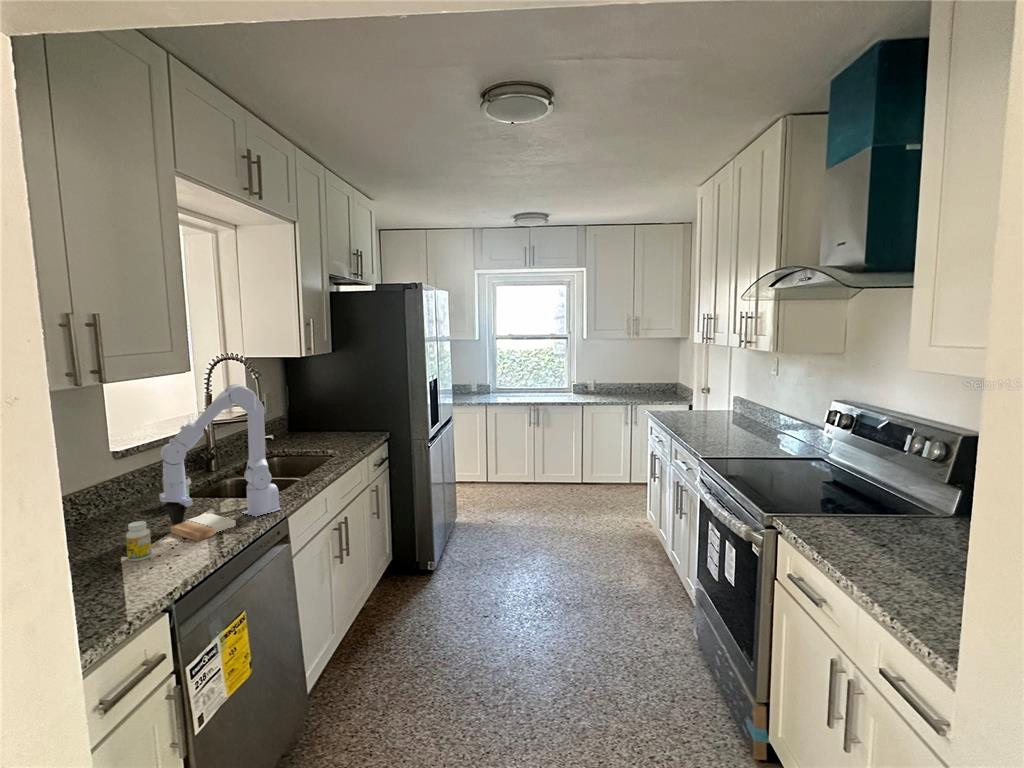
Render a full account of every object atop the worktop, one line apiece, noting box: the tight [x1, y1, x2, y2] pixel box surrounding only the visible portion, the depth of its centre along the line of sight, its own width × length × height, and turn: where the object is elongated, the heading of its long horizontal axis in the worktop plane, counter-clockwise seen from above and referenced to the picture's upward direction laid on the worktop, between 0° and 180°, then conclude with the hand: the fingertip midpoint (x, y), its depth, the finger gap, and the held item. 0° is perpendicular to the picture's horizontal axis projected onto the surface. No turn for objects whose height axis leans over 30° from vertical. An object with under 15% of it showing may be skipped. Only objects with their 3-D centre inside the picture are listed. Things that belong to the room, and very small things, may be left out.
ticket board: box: [184, 513, 237, 534], centre depth 166 cm, size 8×14×2 cm, turn 61°
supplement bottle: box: [125, 520, 153, 562], centre depth 142 cm, size 5×5×10 cm
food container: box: [161, 475, 192, 504], centre depth 187 cm, size 12×6×10 cm, turn 59°
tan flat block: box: [169, 521, 215, 542], centre depth 159 cm, size 5×14×2 cm, turn 61°
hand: (177, 525), depth 163 cm, fingers closed
